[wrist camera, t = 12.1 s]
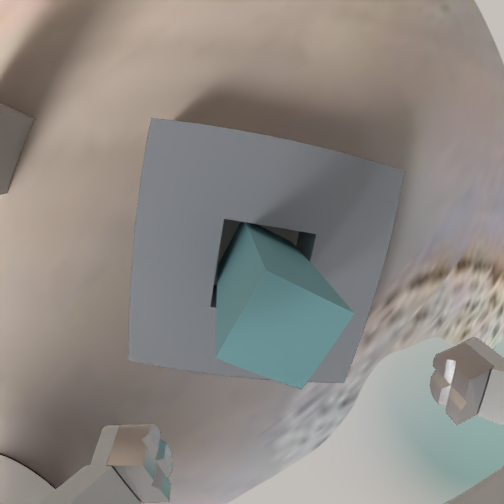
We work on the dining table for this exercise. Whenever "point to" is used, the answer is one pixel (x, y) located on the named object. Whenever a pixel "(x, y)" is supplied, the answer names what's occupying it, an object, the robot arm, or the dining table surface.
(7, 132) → the perfume bottle
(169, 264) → the socket block
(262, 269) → the peg
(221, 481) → the dining table surface
